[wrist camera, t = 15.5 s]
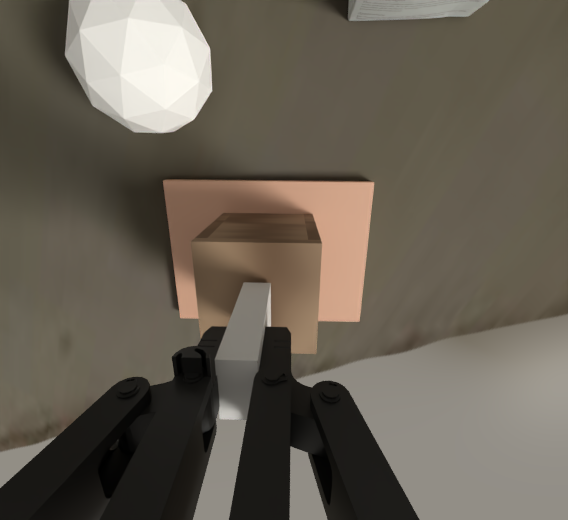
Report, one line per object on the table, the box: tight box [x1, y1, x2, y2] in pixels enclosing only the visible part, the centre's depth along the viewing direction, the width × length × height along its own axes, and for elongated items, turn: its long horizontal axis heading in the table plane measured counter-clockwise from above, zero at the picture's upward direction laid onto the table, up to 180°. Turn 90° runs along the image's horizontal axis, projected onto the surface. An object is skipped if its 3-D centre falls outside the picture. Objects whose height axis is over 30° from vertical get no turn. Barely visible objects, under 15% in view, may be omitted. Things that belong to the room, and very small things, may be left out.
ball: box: [65, 0, 212, 133], centre depth 18 cm, size 8×8×8 cm
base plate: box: [163, 179, 374, 322], centre depth 25 cm, size 16×12×1 cm
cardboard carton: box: [191, 213, 322, 354], centre depth 21 cm, size 7×7×8 cm
